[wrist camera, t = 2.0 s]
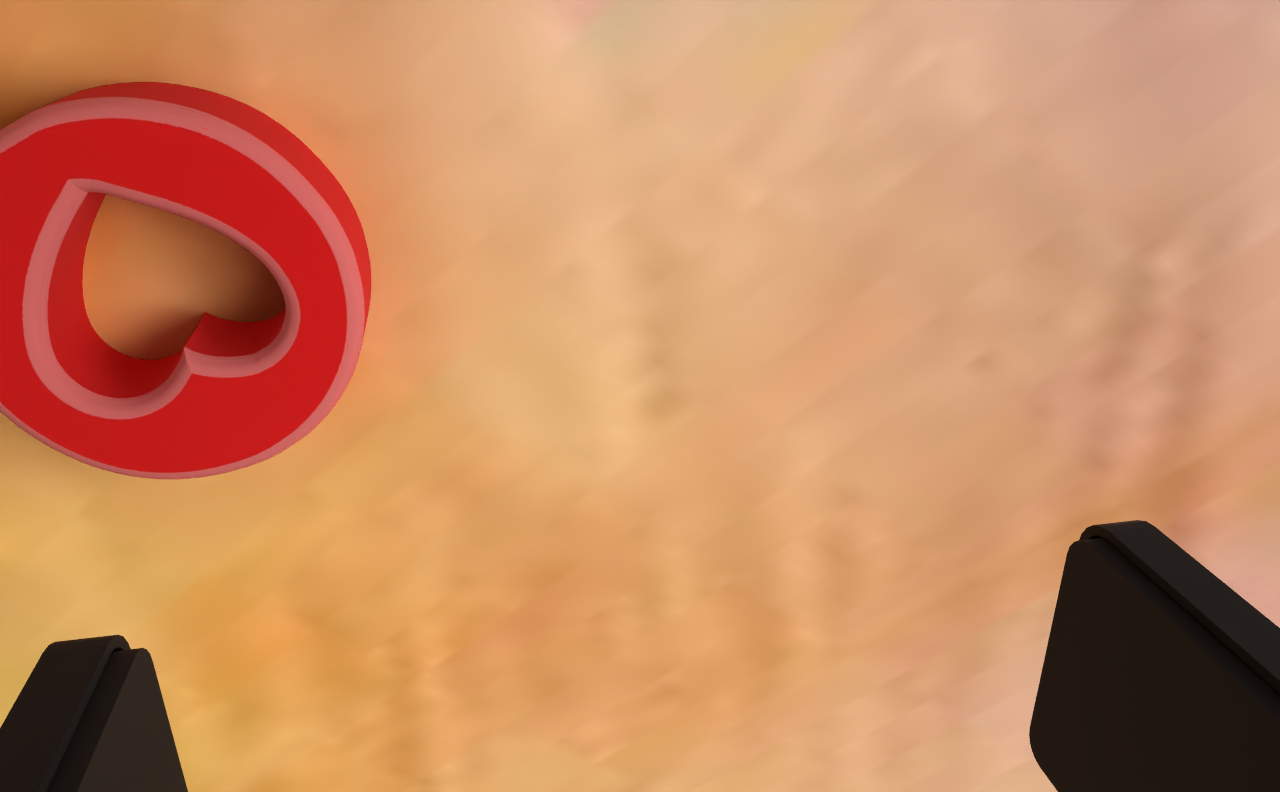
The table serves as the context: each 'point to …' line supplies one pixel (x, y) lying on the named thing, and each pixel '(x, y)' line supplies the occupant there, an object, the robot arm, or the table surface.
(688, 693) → the table surface
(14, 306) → the decorative ornament
